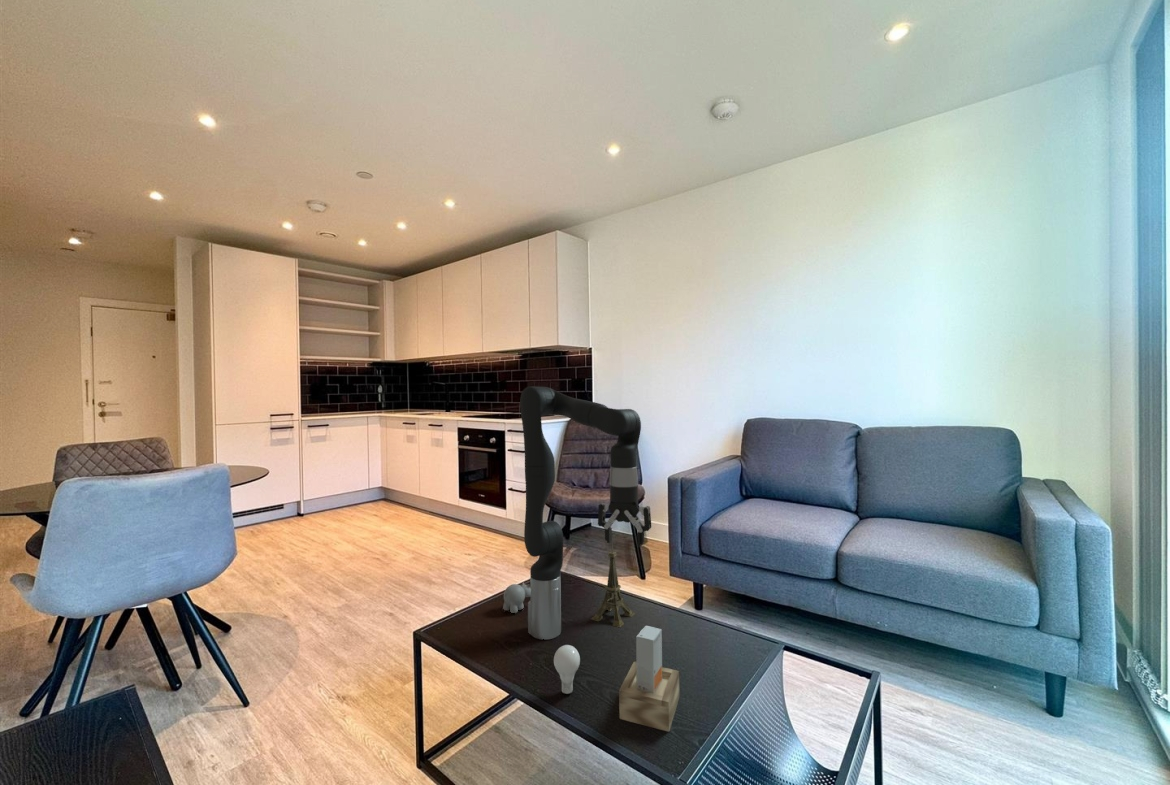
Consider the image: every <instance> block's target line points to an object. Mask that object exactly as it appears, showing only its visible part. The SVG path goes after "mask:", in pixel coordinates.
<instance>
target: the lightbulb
mask: <svg viewBox="0 0 1170 785" xmlns="http://www.w3.org/2000/svg"><path fill="white" fill-rule="evenodd" d="M580 663H581V657H580V653H579V651H578V650H577V648H575V646H573V645H570V644H564V645H562V646H560V647H559V648H558V649H556V651H555V653H554V657H553V665H554V668H555V670H556V671H557V673H558V675H559V678H560V681H561V692H562V693H563V694H566V695H569V694H571V693H572V692H573V690H574V688H573V686H574V685H573V684H574V683H573V681H574V679H575V675H576V672H577V671H578V669H579V667H580Z"/></svg>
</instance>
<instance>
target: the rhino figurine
mask: <svg viewBox="0 0 1170 785" xmlns="http://www.w3.org/2000/svg"><path fill="white" fill-rule="evenodd" d="M503 592H504V593H503V600H504V603H503V604H502V610H503V609H504V610H509V609H510V611H509V612H511V613H515V614H517V613H518V612H519V611H518V610H521V609H523V608H524V609H525V607H524V602H525V599H526V598H531V586H530V584H529V583H528V584H525V583H524V581H523V582H522V583H521V585H520V584H518V583H517V584H516V583H515V584H514V583H513V584H510V585H508V586H507V587H506V588H505V590H504V591H503ZM524 609H523V610H524ZM511 613H510V614H511Z"/></svg>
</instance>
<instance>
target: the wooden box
mask: <svg viewBox="0 0 1170 785" xmlns="http://www.w3.org/2000/svg"><path fill="white" fill-rule="evenodd" d="M618 692H619V693H618V695H619V696H618V698H619V700H618V702H619V704H618V707H619V708H618V710H619V719H620V720H623V721H627V722H629V723H635V724H638V725H642V726H645V727H649V728H654V729H657V730H661V731H664V732H667V733H668V732H670V730H671V728H672V724H673V721H674V718H675V713H676V711H677V706H678V705H679V704H678V703H679V700H680V670H677V669H673V668H672V669H671V668H668V667H664V666H662V682H661V683H660V685H659V686H658V688H657V689H656V691H655V693H654V694H652V693H647V692H643V691H640V690H637V689H636V661H633V663H632V665H631V666H630V669H629V670H628V672H627V675H626V676H625V678H624V680H623V682H622V684H621V686H620V688H619V690H618Z"/></svg>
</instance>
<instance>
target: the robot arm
mask: <svg viewBox="0 0 1170 785" xmlns="http://www.w3.org/2000/svg"><path fill="white" fill-rule="evenodd" d="M519 402H520V403H519V406H520V415H521V424H522V431H523V446H524V482H525V514H524V515H525V517H524V530H523V531H524V532H523V533H524V539H523V540H524V546H525V549H526V551H527V553H528V554H529V555H530V556H531V557H535V558H536V557H539V558H538V559H537V560H536V561H535V562H534V563H533V564H532V565H531V567H530V572H529V574H530V575H529V576H530V584H529V587H531V596H530V600H529V601H528V602H527V629H528V630H527V633H529V634H528V635H531V636H532V637H533V638H535V639H537V640H543V639H544V640H545V641H546V640H551V639H554V638H557V637H559V635H561V632H562V608H561V607H562V599H561V598H562V596H561V595H562V592H561V590H562V589H561V588H562V587H561V580H562V579H561V569H562V568H563V560H564V533H563V529H562V526H561V525H560V524H559V523H558V522H557V521H555V520H549V521H543V519H544V510H545V506H546V502H547V500H548V498H549V495H550V494H551V492H552V489H553V487H554V484H555V480H556V466H555V464H556V463H555V456H554V454H553V451H552V450H551V447H550V446H549V443H548V442H547V440H546V437H545V435H544V433H543V432H544V431H543V425H542V424H543V423H542V417H546V416H561V417H567V418H569V419H570V420H572V421H573V422H576V423H578V424H580V425H583V426H586V427H591V428H594V429H598V430H599V431H601V432H603V433H605V434H607V435H611V436H618V437H617V441H616V443H615V444H614V445H612V446H611V448H610V455H609V456H610V468H609V470H610V471H609V501H610V502H609V503H606V502H604V501H603V502H601V503H600V504H599V505H598V514H597V525H598V526H599V527H602V528H603V529H604V540H605V541H606V543H607V544H612V541H613V530H612V529H613V527H612V525H613V524H614V523H615V521H617V523H618V522H619V523H621V522H625V523H631V524H632V526H634V527H635V529H636V530H637V534H636V535H637V536H636V537H637V538H636V539H637V547H640V548H641V547H642V546H643V544H644V543H645V532H649V531H650V530H651V528H652V517H651V516H652V515H651V507H650V506H649V505H646V506H640V504H639V479H638V478H639V476H638V469H637V468H638V467H637V464H638V463H637V449H638V446H639V441H640V437H641V430H642V422H641V421H642V420H641V417H640V415H639V413H638V412H637V411H635V410H634V409H631V408H620V409H617V408H611V407H608V406H607V405H605V404H603V403H599V402H594V401H589V400H585V399H580V398H575V397H571V396H568V395H566V394H564V393H561V392H559V391H557V390H556V389H553V388H550V387H548V386H533V385H532V386H527V387H525V388H524V389H523V390H522V392H521V393H520V401H519ZM607 511H609V512H610V514H611V516H610V517H609V519H608V520H607V521H606V513H607ZM639 512H640V513H641V515H642V516H643V522H644V523H642V521H641V519H640V517H639V516H638V514H639Z"/></svg>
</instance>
